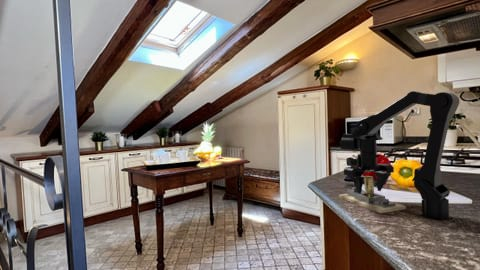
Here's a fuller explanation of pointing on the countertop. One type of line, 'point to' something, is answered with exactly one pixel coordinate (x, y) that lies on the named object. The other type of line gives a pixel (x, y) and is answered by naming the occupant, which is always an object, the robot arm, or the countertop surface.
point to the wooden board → (372, 206)
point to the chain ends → (370, 198)
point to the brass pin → (369, 186)
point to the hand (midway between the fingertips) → (369, 192)
